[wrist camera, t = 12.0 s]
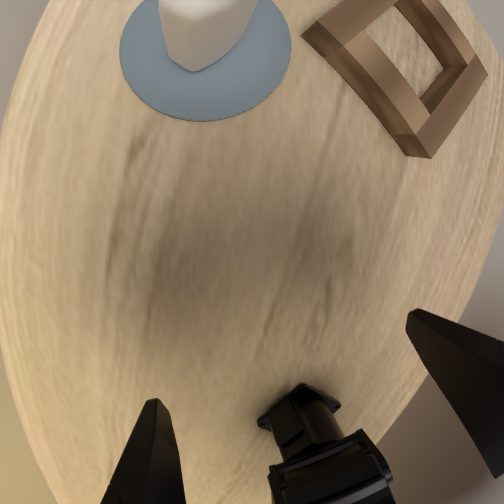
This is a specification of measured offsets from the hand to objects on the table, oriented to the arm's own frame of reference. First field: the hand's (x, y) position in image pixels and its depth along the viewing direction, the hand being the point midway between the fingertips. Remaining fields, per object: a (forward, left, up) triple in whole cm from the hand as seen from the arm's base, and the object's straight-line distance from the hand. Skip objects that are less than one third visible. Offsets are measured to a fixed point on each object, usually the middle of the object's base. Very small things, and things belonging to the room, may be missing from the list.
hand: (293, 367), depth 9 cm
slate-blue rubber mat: (+11, -9, -12) cm, 19 cm away
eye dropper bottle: (+11, -9, -12) cm, 19 cm away
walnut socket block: (+1, -20, -12) cm, 23 cm away
